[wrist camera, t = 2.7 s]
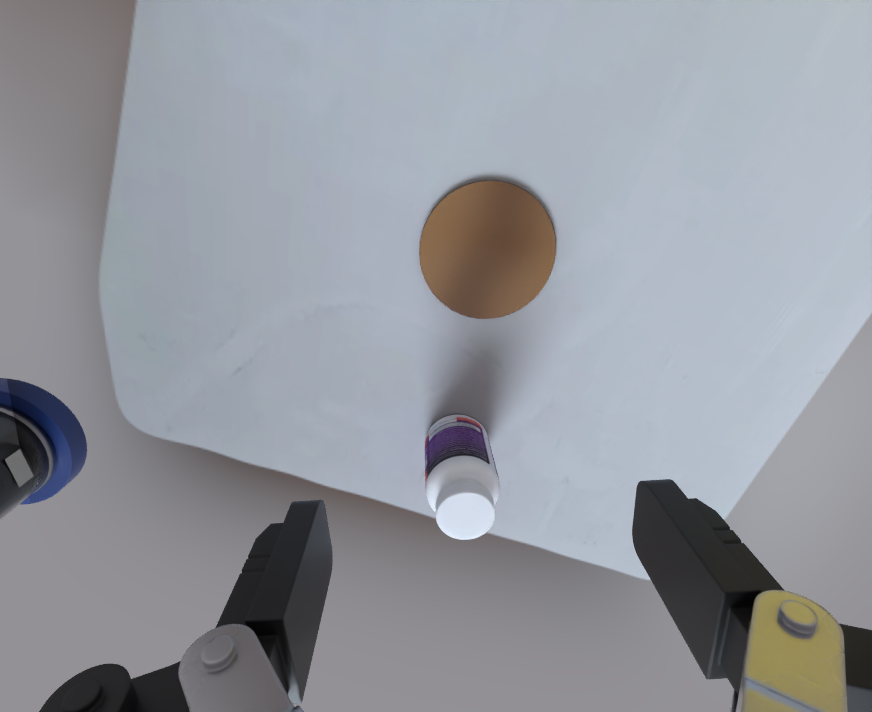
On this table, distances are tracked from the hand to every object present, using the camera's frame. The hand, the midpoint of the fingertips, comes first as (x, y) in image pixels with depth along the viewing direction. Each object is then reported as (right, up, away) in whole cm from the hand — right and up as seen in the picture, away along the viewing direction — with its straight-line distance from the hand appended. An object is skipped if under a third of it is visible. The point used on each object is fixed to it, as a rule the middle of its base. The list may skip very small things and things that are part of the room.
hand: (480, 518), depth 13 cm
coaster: (+3, +12, +24) cm, 27 cm away
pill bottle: (+1, -3, +29) cm, 30 cm away
